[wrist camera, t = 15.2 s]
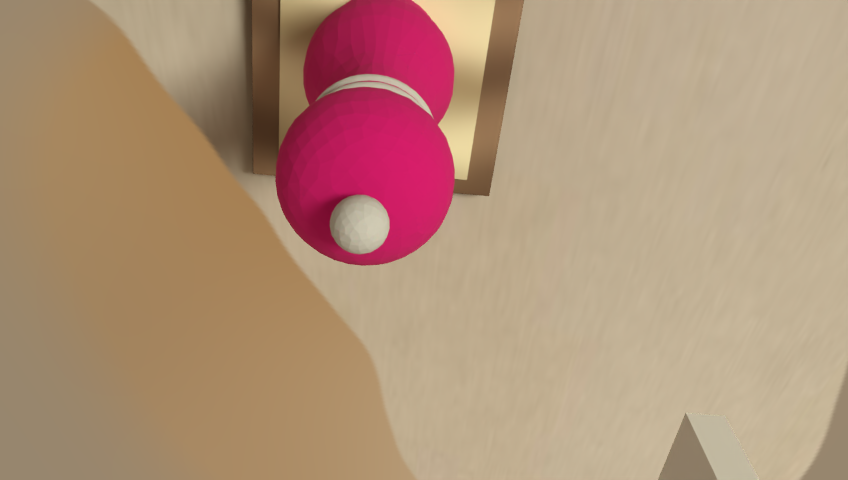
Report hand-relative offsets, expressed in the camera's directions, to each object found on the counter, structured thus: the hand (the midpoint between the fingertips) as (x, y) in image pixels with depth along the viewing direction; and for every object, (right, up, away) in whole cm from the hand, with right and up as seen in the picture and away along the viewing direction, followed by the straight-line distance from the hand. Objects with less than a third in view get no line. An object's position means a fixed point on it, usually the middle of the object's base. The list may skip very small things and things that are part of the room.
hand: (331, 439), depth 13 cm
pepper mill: (0, +14, +24) cm, 28 cm away
